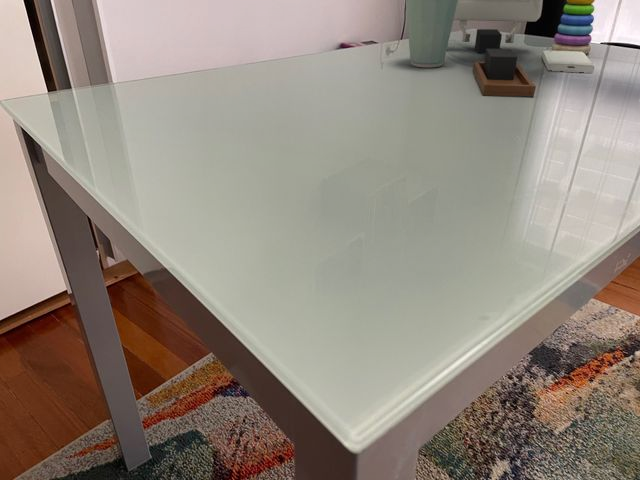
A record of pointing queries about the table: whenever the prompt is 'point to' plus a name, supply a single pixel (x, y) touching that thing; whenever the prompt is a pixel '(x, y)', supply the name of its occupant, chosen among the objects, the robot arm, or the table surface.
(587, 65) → the hard drive
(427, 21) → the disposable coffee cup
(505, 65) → the black rectangular block
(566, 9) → the stacking toy
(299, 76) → the table surface
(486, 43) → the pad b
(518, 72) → the tray
